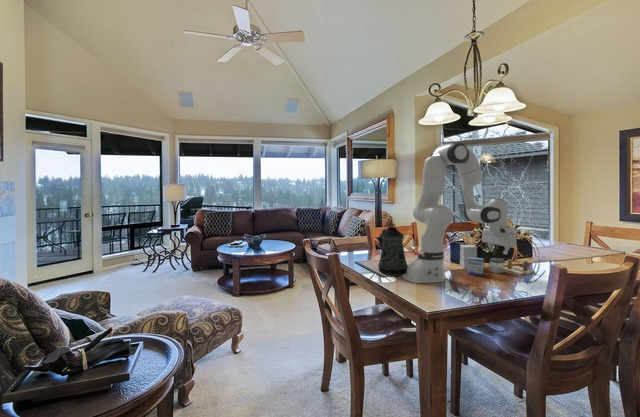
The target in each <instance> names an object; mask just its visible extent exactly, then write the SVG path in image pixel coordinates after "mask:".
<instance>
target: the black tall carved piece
mask: <svg viewBox="0 0 640 417" xmlns="http://www.w3.org/2000/svg"><path fill="white" fill-rule="evenodd" d="M404 238H405V235H404V234H403V233H402V232H400V231H399V230H398V229H397V227H396V226H395V227H394V226H387V228H384V229H382V231H381V233H380V234H379V237H378V245H379V248H380V251H381V253H380V256H379V261H378V264H377V265H378V266H377V267H378V271H379V272H380V273H381V274H385V275H393V276H394V275H395V276H398V275H403V274H407V268H408V266H409V264H408V263H407V260H406V255H405V250H404V248H405V247H404V242H403V240H404Z"/></svg>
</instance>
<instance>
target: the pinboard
mask: <svg viewBox="0 0 640 417" xmlns="http://www.w3.org/2000/svg"><path fill="white" fill-rule="evenodd" d="M512 263H513V260H512V259H510V258H509V259H507V266H504V272H505V273H508V274H512V275H515V276H526V275H532V274H533V275H534V274H536V271H535V270H533V269H528V265H529V264H528V263H529V262H528V261H526V260H524V261H523V262H522V263H523V264H522V265H523V266H522V267H521V266H519V265H512ZM504 272H503V273H504Z"/></svg>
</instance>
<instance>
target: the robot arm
mask: <svg viewBox="0 0 640 417" xmlns="http://www.w3.org/2000/svg"><path fill="white" fill-rule="evenodd" d="M423 163H424V164H423V170H422V182H421V192H420V198H419V200H418V203H417V204H416V205H415V206H414V208H413V211H412V215H413V217H414V219H415V220H416V221H417V222H420V223H421V224H424V225H426V226H425V227H426V228H425V231H424V232H423V233H422V234H421V235H420V236H421V237H420V250H419V251H417V250H415V251H414V253H413V254H414V255H415V256H417V257H416V259H414V261H412V262H411V263H409V264H408V268H407V272H406V273H405V274H401V275H402V278H403V280H406V281H407V282H408V281H409V282H410V283H414V284H427V283H428V284H429V283H444V282H445V280H446V279H447V277H446V274H445V268H444V257H445V253H444V252H445V251H444V236H445V233H446V230H447V228H448V227H449V225H451V224H452V222H453V220H454V212H453V210H452V209H451V208H450V207H448V206H446V205H443V204H439V200H440V199H441V197H442V196H443V195H444V193H445V186H446V183H445V182H446V178H445V177H446V168H447V166H451V165H454V166H455V167H456V169H457V173H458V176H459V180H460V182H459V189H460V194H461V197H462V203H463V215H464V218H465V219H466V221H468V222H469V223H470V222H471V223H480V224H489V225H486V226H484V227H483V230H482V235H481V241H482V242H483V243H487V246H488V250H489V251H490V252H493V251H494V250H495V248H494V247H493V246H492V245H496V246H501V247H504V250H502V254H503V255H508V252H509V251H510V249H511V248H512V249H513V248H515V247H517V234H516V232H517V229H516V228H515V227H513V226H511V225H509V222H508V215H509V214H508V213H509V212H508V210H509V209H508V204H507V201H506V200H505V199H502V198H492V199H490V201H488V202H487V203H485V204H483V205H482V204H481V205H480V204H477V202H476V200H475V195H474V188H475V186H478V185H479V184H480V182H482V180H483V178H484V177H483V176H484V175H483V170H482V167H481V165H480V163H479V159H478V158H477V156H476V154H475V153H474V151H473V150H472V149H468V147H467V146H466V144H465V143H462V142H451V143H449V142H448V143H447V142H446V143H443V144H440V145H437V146H435V147H434V148H433V149H432V150H431V153H430V156H428V157H427V158H425V160H424V162H423Z"/></svg>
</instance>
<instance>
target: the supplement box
mask: <svg viewBox="0 0 640 417" xmlns="http://www.w3.org/2000/svg"><path fill="white" fill-rule="evenodd" d="M459 248H460V249H459V266H461V267H462V269H463V268H464V269H467V260H468V257H473V258H478V247H477V246H476V245H474V244H460V245H459Z"/></svg>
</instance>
